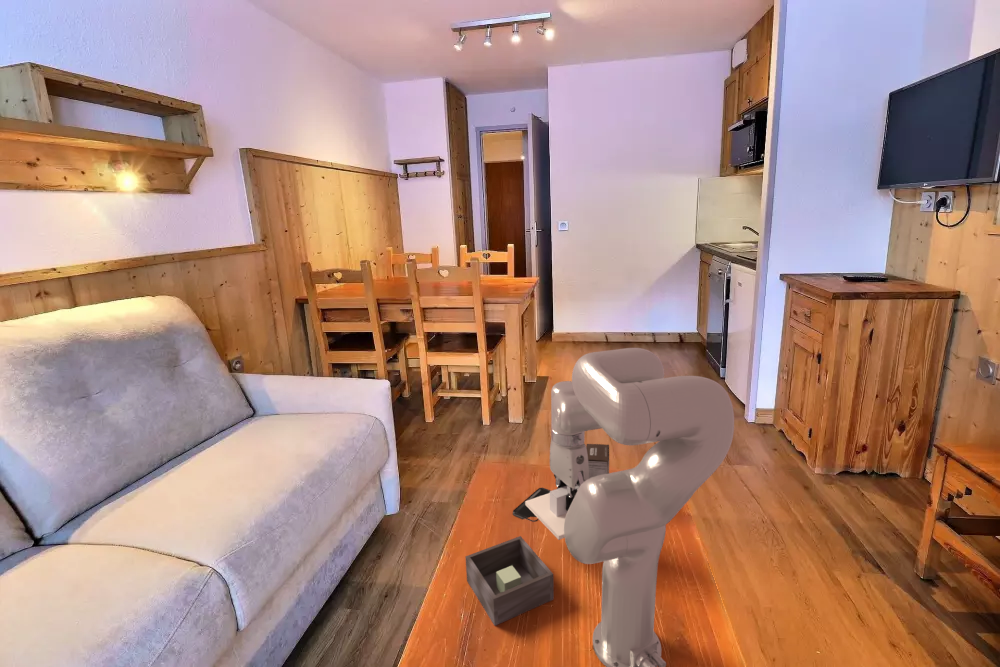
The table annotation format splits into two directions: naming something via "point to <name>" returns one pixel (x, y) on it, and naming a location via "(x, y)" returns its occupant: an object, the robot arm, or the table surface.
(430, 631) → the table surface
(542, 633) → the table surface
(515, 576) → the cube
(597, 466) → the coffee box
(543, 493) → the phone
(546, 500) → the lid
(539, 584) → the box
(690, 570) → the table surface
